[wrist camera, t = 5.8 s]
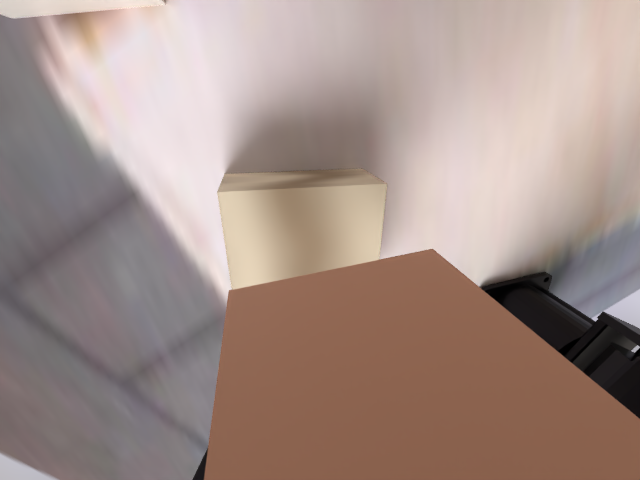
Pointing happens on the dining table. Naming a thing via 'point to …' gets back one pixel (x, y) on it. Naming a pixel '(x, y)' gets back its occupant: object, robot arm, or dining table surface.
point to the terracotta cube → (403, 385)
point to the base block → (299, 222)
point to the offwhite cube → (66, 6)
